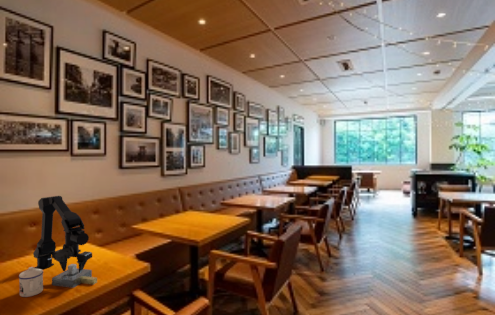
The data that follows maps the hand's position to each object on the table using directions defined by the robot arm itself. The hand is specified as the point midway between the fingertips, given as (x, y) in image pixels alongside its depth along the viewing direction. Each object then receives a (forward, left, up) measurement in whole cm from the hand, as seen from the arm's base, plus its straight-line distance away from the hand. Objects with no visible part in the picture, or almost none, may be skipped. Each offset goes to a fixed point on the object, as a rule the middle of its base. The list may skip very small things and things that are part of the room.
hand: (72, 271), depth 144 cm
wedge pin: (0, 0, -4) cm, 4 cm away
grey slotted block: (+3, 0, -4) cm, 6 cm away
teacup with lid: (-8, -15, -5) cm, 17 cm away
